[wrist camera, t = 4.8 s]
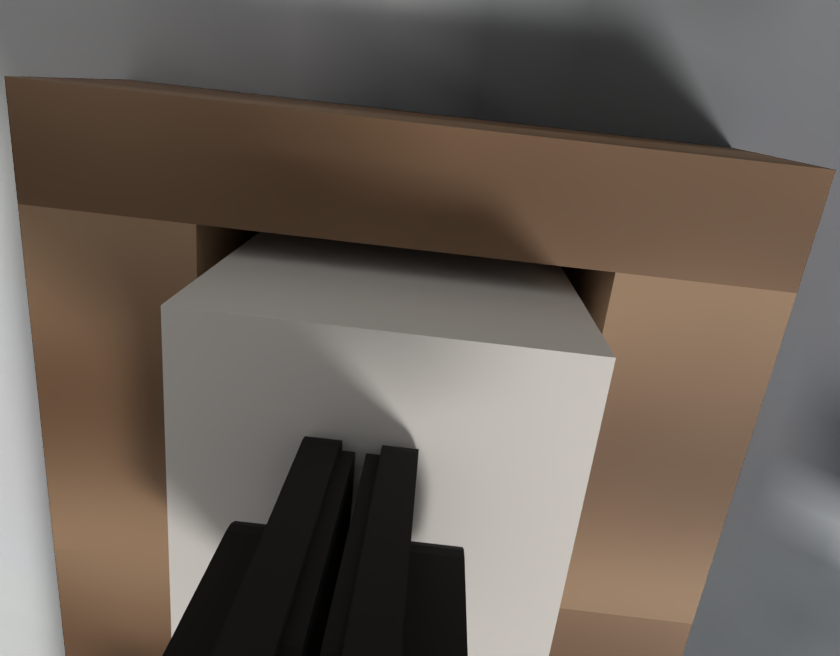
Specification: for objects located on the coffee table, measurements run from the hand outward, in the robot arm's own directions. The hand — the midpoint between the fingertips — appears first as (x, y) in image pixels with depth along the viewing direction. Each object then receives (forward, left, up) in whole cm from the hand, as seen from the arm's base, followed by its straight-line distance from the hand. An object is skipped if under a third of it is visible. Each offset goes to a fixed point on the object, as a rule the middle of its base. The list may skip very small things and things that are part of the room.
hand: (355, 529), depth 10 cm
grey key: (0, 0, -5) cm, 5 cm away
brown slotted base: (+5, 0, -7) cm, 9 cm away
